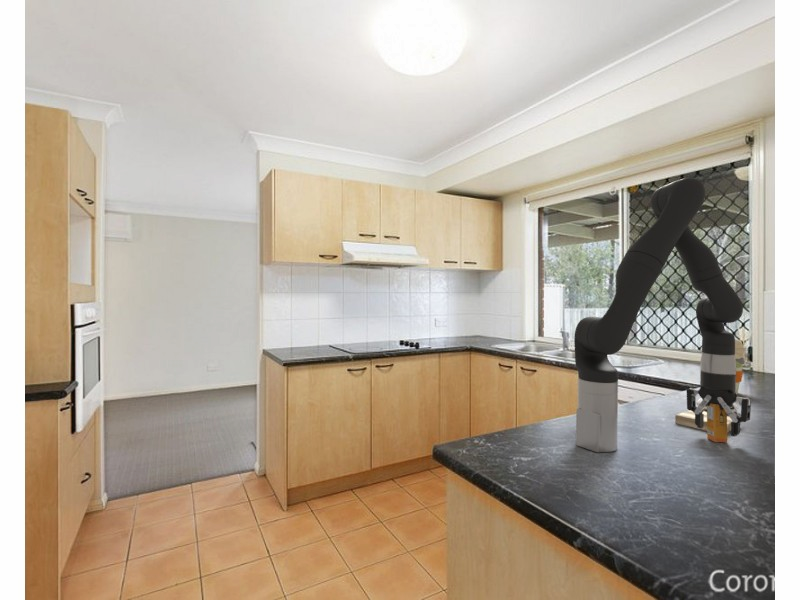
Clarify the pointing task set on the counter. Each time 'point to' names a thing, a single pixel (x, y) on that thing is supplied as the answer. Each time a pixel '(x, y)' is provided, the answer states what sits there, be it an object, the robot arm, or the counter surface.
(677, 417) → the birch base
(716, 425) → the supplement box
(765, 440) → the counter surface
